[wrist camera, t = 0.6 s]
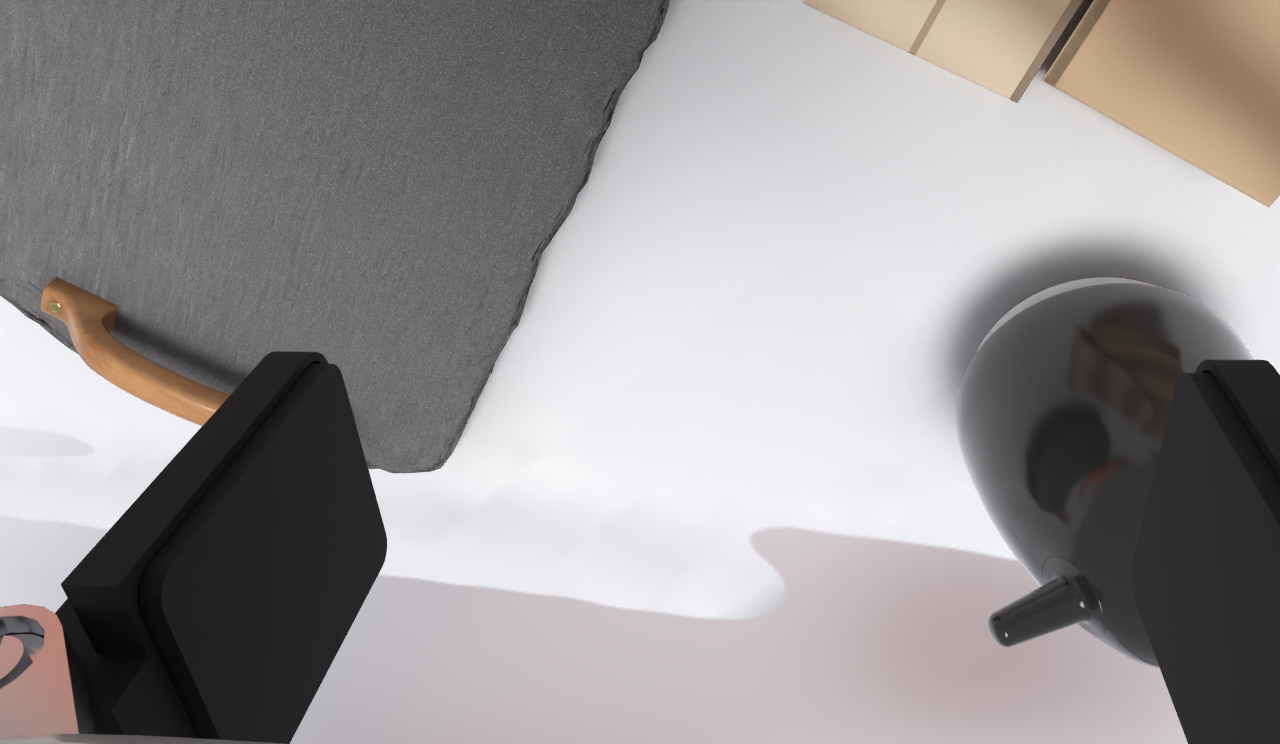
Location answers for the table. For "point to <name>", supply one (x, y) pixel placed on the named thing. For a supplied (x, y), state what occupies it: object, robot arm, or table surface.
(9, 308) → the table surface
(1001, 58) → the laid boards
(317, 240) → the serving board
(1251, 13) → the plank
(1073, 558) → the pump dispenser
